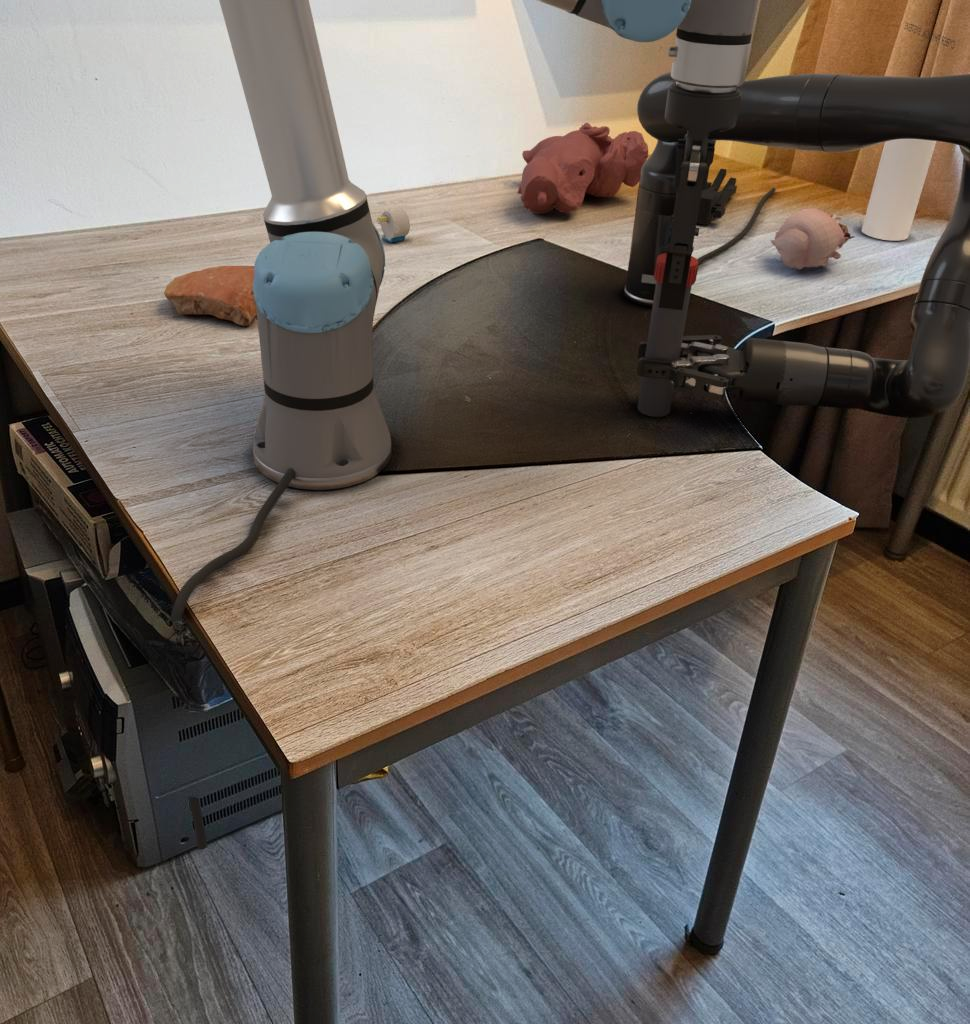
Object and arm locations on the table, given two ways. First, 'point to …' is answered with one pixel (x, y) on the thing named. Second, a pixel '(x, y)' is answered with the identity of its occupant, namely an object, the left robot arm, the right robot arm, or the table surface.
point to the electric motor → (394, 225)
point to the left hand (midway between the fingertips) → (671, 298)
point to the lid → (661, 265)
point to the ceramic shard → (216, 293)
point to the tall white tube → (898, 184)
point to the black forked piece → (715, 198)
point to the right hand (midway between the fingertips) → (638, 358)
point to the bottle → (662, 354)
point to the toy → (810, 238)
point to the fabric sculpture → (580, 168)
